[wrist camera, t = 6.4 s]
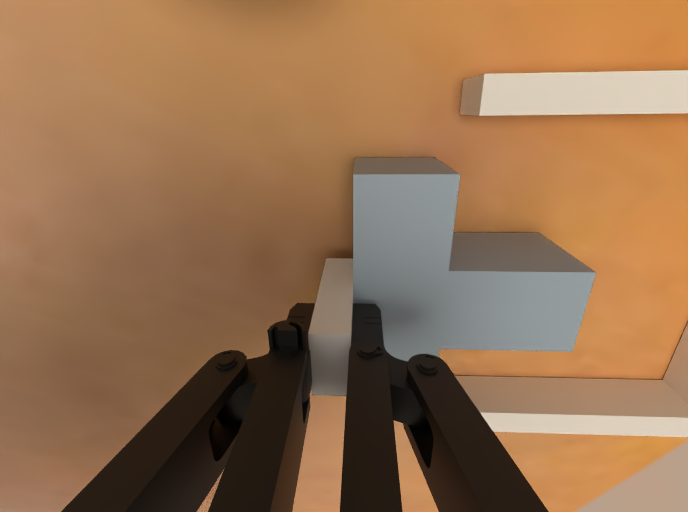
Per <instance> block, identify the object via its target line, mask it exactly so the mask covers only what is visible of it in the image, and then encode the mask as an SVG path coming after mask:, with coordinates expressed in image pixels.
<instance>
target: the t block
mask: <svg viewBox="0 0 688 512" xmlns="http://www.w3.org/2000/svg"><path fill="white" fill-rule="evenodd" d="M459 181H460V174H459V173H457V172H456V171H454V170H453V169H451V168H450V167H448V166H447V165H445V164H444V163H442V162H441V161H439V160H438V159H436V158H435V157H366V158H355V164H354V173H353V303H364V304H376V305H377V306H378V307H379V309H380V310H381V319H382V329H383V339H384V347H385V349H386V351H387V352H388V353H389V354H390V355H391V356H393V357H395V358H398V359H400V360H404V361H409V359H410V358H411V357H412V356H414V355H417V354H431V355H435V356H437V357H438V356H439V349H468V350H517V351H565V352H572V351H573V348H574V344H575V341H576V338H577V335H578V331H579V328H580V325H581V321H582V318H583V315H584V312H585V308H586V305H587V302H588V298H589V295H590V292H591V289H592V285H593V282H594V279H595V275H596V272H595V271H593V270H592V269H591V268H589V267H588V266H586V265H585V264H583V263H582V262H580V261H579V260H578V259H576V258H575V257H573V256H572V255H570V254H569V253H567V252H566V251H565V250H563V249H562V248H560V247H559V246H557V245H556V244H555V243H553V242H552V241H550V240H549V239H547V238H546V237H544V236H543V235H542V234H540V233H510V232H453V231H454V222H455V214H456V206H457V197H458V189H459Z"/></svg>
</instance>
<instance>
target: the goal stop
mask: <svg viewBox="0 0 688 512" xmlns="http://www.w3.org/2000/svg"><path fill="white" fill-rule="evenodd" d="M662 113H688V70H677V71H619V72H561V73H503V74H482V75H479V76H475V77H472V78H468V79H464V80H463V88H462V97H461V106H460V115H476V116H495V115H578V114H662ZM455 377H456V379H457V380H458V381H459V383H460V384H461V386H462V387H463V389H464V390H465V392H466V393H467V394H468V396H469V397H470V399H471V400H472V402H473V403H474V405H475V406H476V407H477V409H478V410H479V412H480V413H481V415H482V416H483V418H484V419H485V421H486V422H487V423H488V425H489V426H490V428H491V429H492V431H493V432H525V433H561V434H597V435H633V436H669V437H688V323H687V326H686V328H685V330H684V332H683V335H682V337H681V339H680V341H679V344H678V346H677V348H676V350H675V353H674V355H673V357H672V359H671V362H670V364H669V366H668V368H667V371H666V373H665V375H664V377H663V380H641V379H592V378H544V377H496V376H455Z"/></svg>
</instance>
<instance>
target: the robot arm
mask: <svg viewBox="0 0 688 512" xmlns="http://www.w3.org/2000/svg"><path fill="white" fill-rule="evenodd" d="M268 337H269V346H270V351H269V353H268V354H266V355H264V356H261V357H257V358H252V359H247V358H246V356H245V354H244V353H242V352H240V351H235V350H229V351H224V352H221V353H219V354H216V355H215V356H214V357H212V358H211V359H210V360H209V361H208V362H207V363H206V364H205V365H204V366H203V367H202V368H201V369H200V370H199V371H198V372H197V373H196V374H195V375H194V376H193V377H192V378H191V379H190V380H189V381H188V382H187V383H186V384H185V385H184V386H183V387H182V388H181V389H180V390H179V391H178V393H177V394H176V395H175V396H174V397H173V398H172V399H171V400H170V401H169V402H168V403H167V404H166V405H165V406H164V407H163V408H162V409H161V410H160V411H159V412H158V413H157V414H156V415H155V416H154V417H153V418H152V419H151V420H150V421H149V422H148V423H147V424H146V425H145V426H144V427H143V428H142V429H141V430H140V431H139V432H138V433H137V435H136V436H135V437H134V438H133V439H132V440H131V441H130V442H129V443H128V444H127V445H126V446H125V447H124V448H123V449H122V450H121V451H120V452H119V453H118V454H117V455H116V456H115V457H114V458H113V459H112V460H111V461H110V462H109V463H108V464H107V465H106V466H105V467H104V468H103V469H102V470H101V471H100V472H99V473H98V474H97V475H96V477H95V478H94V479H93V480H92V481H91V482H90V483H89V484H88V485H87V486H86V487H85V488H84V489H83V490H82V491H81V492H80V493H79V494H78V495H77V496H76V497H75V498H74V499H73V500H72V501H71V502H70V503H69V504H68V505H67V506H66V507H65V508H64V509H63V510H62V511H61V512H197V510H198V509H199V507H200V505H201V504H202V502H203V501H204V499H205V498H206V496H207V495H208V493H209V491H210V490H211V488H212V487H213V485H214V484H215V482H216V480H217V479H218V477H219V476H220V474H221V473H222V471H223V470H224V471H223V474H222V477H221V479H220V482H219V484H218V487H217V490H216V492H215V495H214V498H213V500H212V503H211V505H210V508H209V511H208V512H292V509H293V503H294V497H295V492H296V486H297V480H298V474H299V468H300V463H301V457H302V451H303V445H304V439H305V434H306V428H307V422H308V416H309V410H310V390H311V391H312V395H332V396H346V413H345V431H344V449H343V467H342V485H341V502H340V512H402V503H401V493H400V483H399V473H398V463H397V453H396V442H395V432H394V422H393V420H395V421H398V422H401V423H403V425H404V429H405V431H406V434H407V436H408V439H409V441H410V443H411V446H412V448H413V451H414V453H415V455H416V458H417V460H418V463H419V465H420V467H421V470H422V472H423V475H424V477H425V479H426V482H427V484H428V486H429V489H430V491H431V494H432V496H433V498H434V501H435V503H436V506H437V508H438V510H439V512H548V510H547V509H546V507H545V506H544V504H543V503H542V502H541V500H540V499H539V497H538V496H537V494H536V493H535V491H534V490H533V489H532V487H531V486H530V484H529V483H528V481H527V480H526V478H525V477H524V476H523V474H522V473H521V471H520V470H519V468H518V467H517V465H516V464H515V462H514V461H513V460H512V458H511V457H510V455H509V454H508V452H507V451H506V449H505V448H504V447H503V445H502V444H501V442H500V441H499V439H498V438H497V436H496V435H495V434H494V432H493V431H492V429H491V428H490V426H489V425H488V423H487V422H486V421H485V419H484V418H483V416H482V415H481V413H480V412H479V410H478V409H477V407H476V406H475V405H474V403H473V402H472V400H471V399H470V397H469V396H468V394H467V393H466V392H465V390H464V389H463V387H462V386H461V384H460V383H459V381H458V380H457V379H456V377H455V376H454V374H453V373H452V371H451V370H450V368H449V367H448V365H447V364H446V363H445V362H444V361H443V360H442V359H441V358H439V357H437V356H435V355H431V354H417V355H414V356H412V357H411V358H410V359H409V361H404V360H400V359H398V358H395V357H393V356H391V355H390V354H389V353H388V352H387V351H386V349H385V347H384V339H383V329H382V319H381V310H380V309H379V307H378V306H377V305H376V304H364V303H353V258H326V261H325V266H324V270H323V274H322V278H321V282H320V286H319V291H318V295H317V299H316V303H315V304H314V303H297V304H296V305H295V306H294V307H292V308H291V309H290V312H289V315H288V318H287V320H285V321H280V322H277V323H275V324H273V325H272V326H271V327H270V328H269V329H268ZM224 468H225V469H224Z"/></svg>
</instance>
